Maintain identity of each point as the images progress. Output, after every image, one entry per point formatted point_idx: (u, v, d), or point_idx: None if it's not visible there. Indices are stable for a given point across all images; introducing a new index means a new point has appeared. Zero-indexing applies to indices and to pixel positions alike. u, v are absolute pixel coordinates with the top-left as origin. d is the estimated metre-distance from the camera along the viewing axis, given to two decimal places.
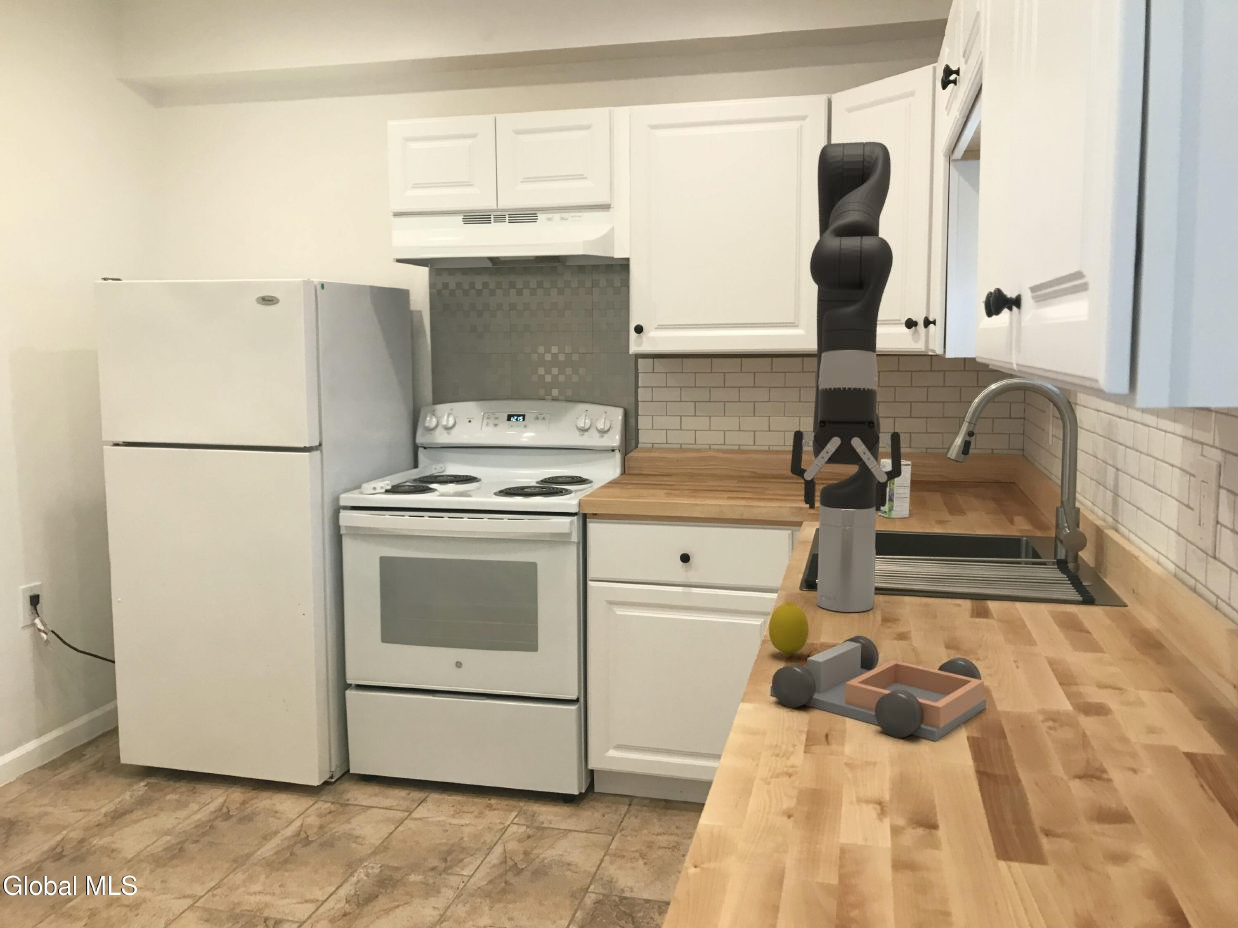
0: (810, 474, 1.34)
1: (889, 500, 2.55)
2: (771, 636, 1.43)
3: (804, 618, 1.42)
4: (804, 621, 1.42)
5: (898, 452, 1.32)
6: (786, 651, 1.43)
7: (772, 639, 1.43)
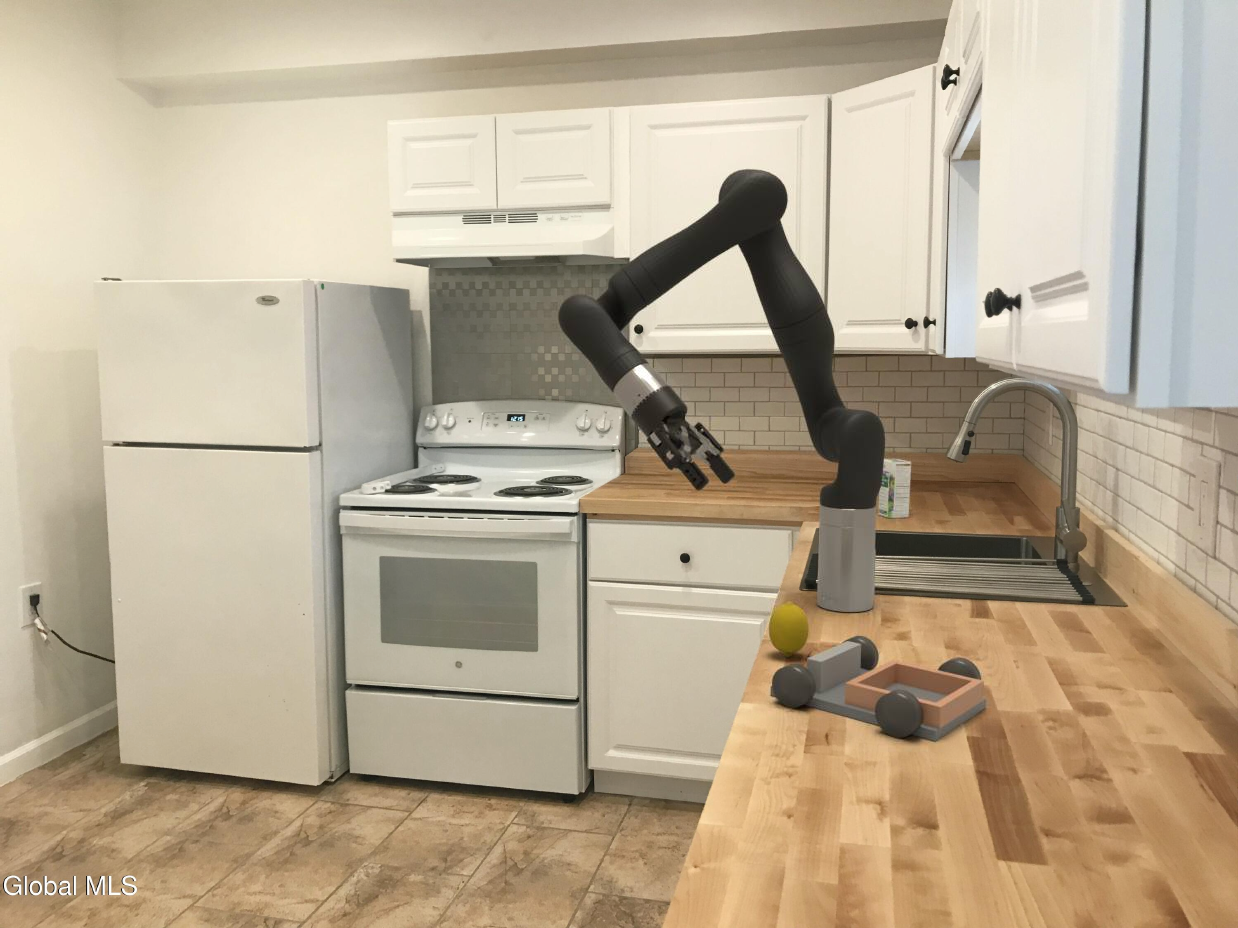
0: None
1: (889, 499, 2.55)
2: (771, 636, 1.43)
3: (804, 618, 1.42)
4: (804, 621, 1.42)
5: None
6: (786, 651, 1.43)
7: (772, 639, 1.43)
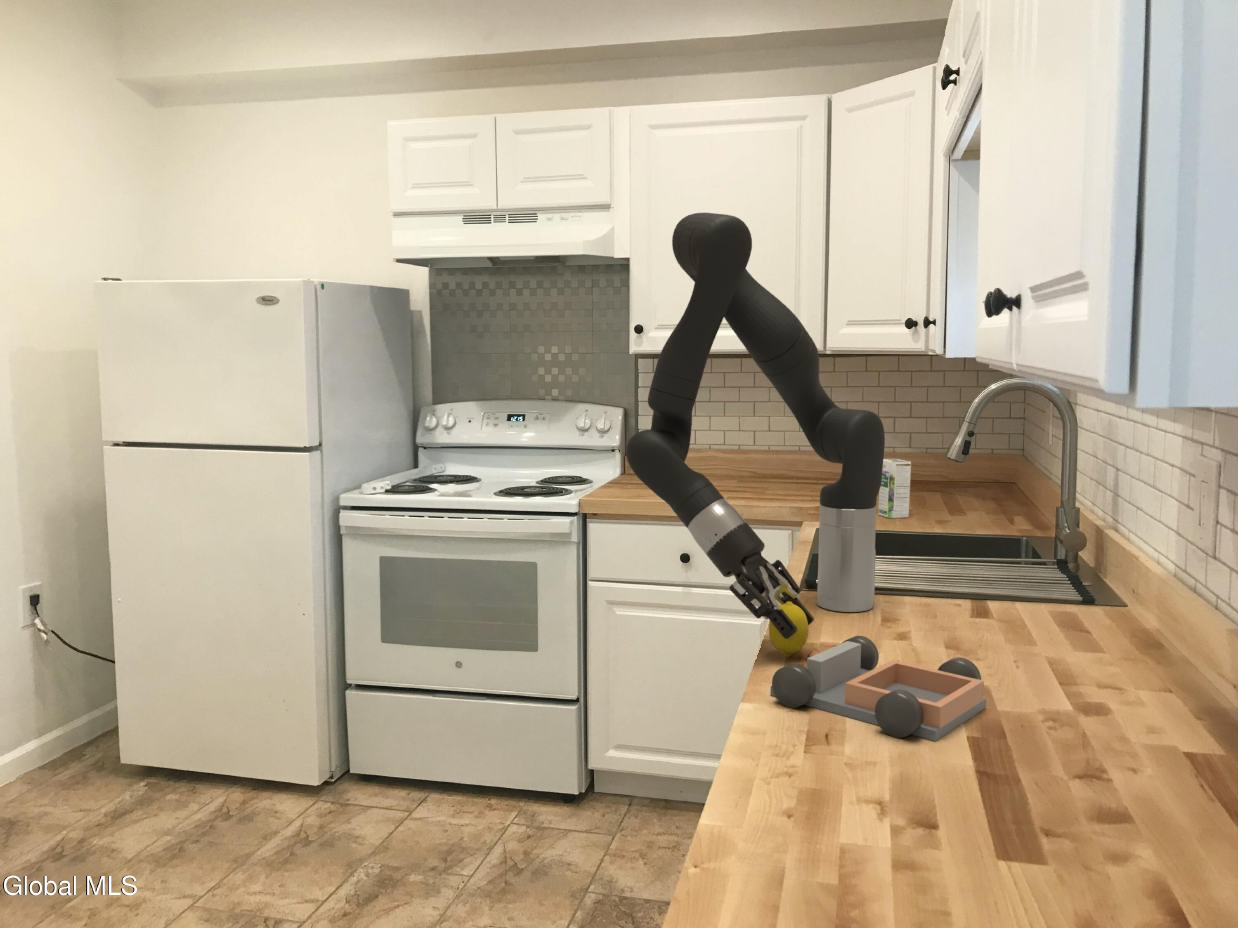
0: None
1: (889, 500, 2.55)
2: (771, 636, 1.43)
3: (804, 618, 1.42)
4: (804, 621, 1.42)
5: None
6: (786, 651, 1.43)
7: (772, 639, 1.43)
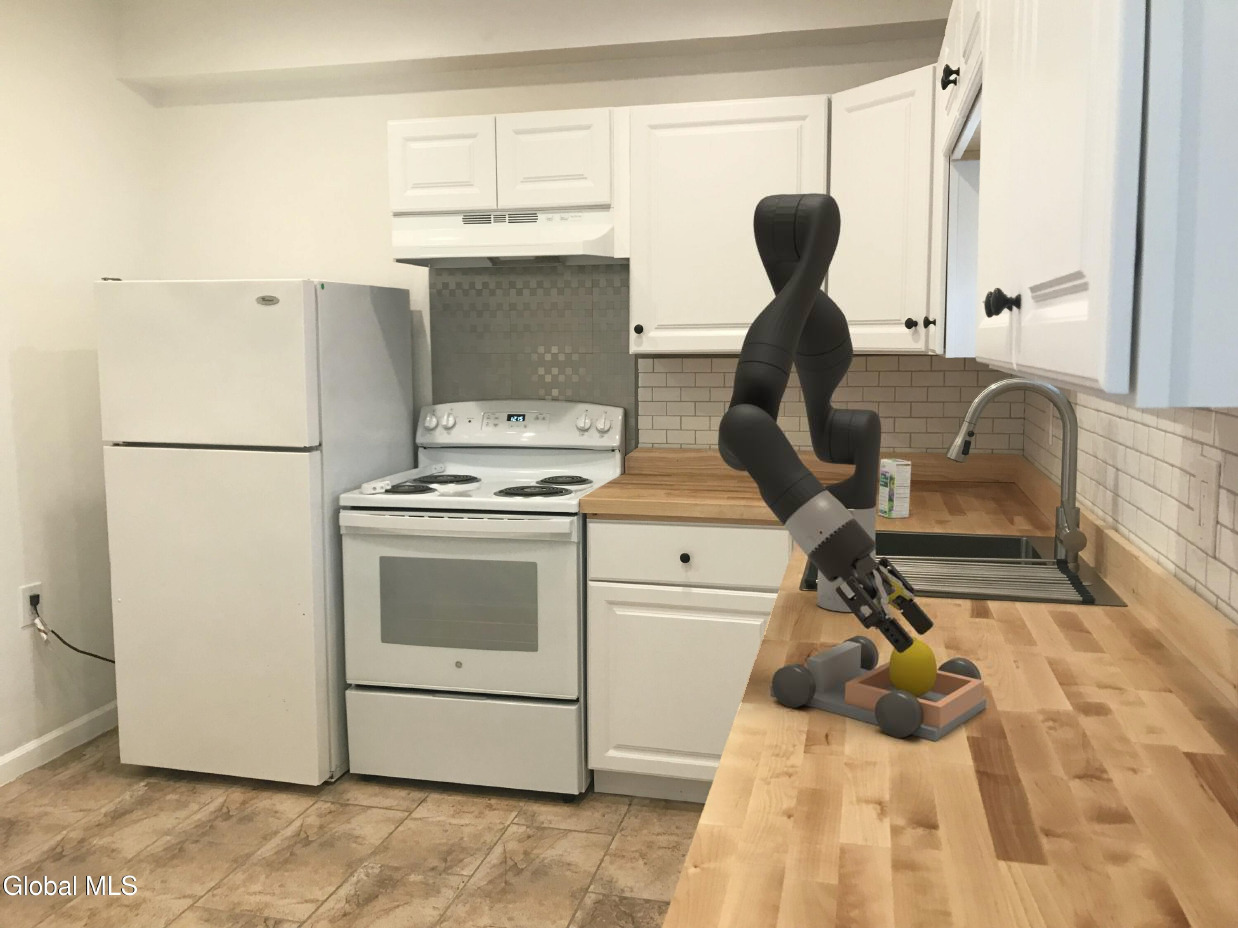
0: None
1: (889, 499, 2.55)
2: (893, 678, 1.22)
3: (932, 656, 1.21)
4: (932, 660, 1.21)
5: None
6: None
7: (895, 681, 1.22)
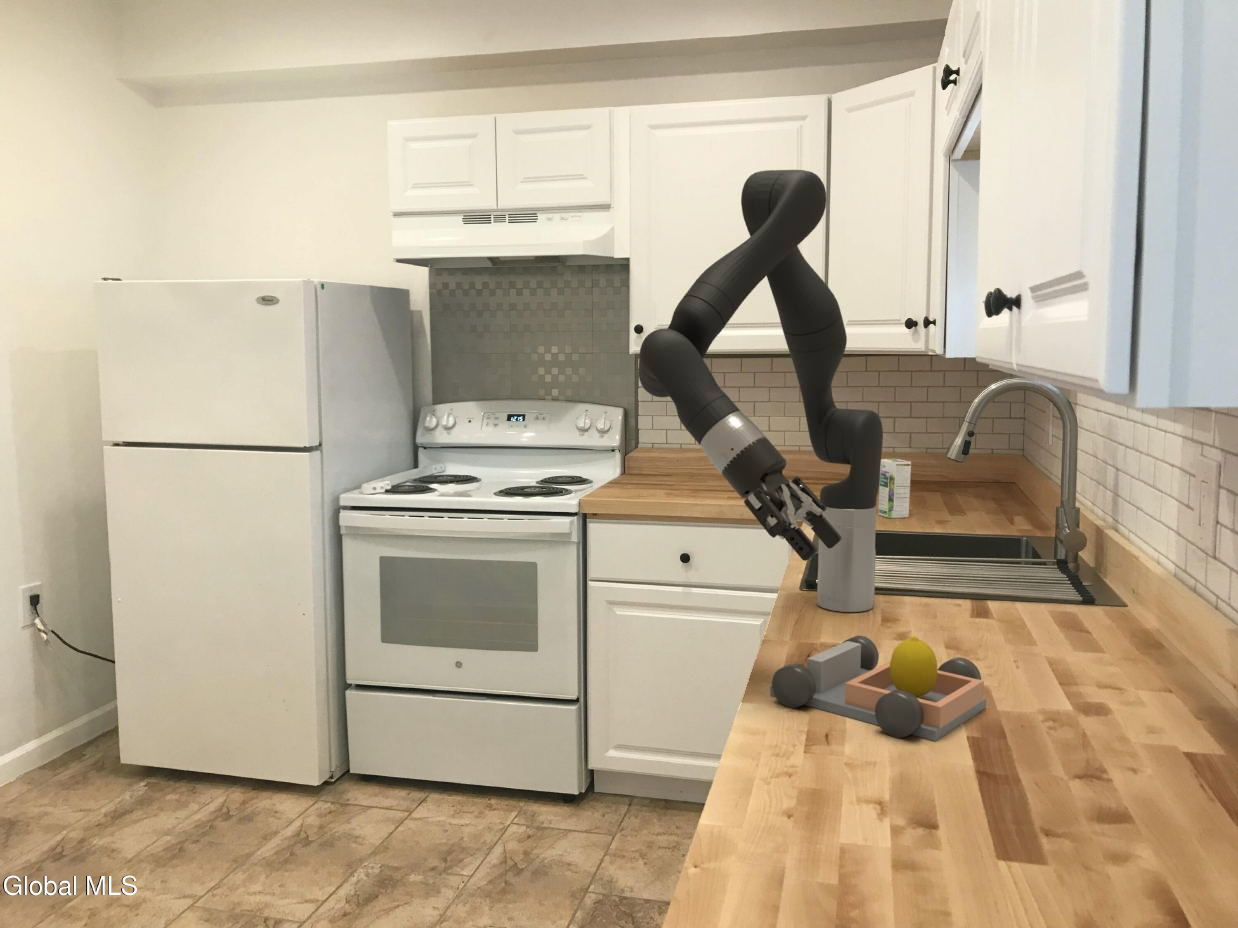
0: None
1: (889, 500, 2.55)
2: (894, 678, 1.22)
3: (933, 656, 1.21)
4: (934, 660, 1.21)
5: None
6: None
7: (896, 681, 1.22)
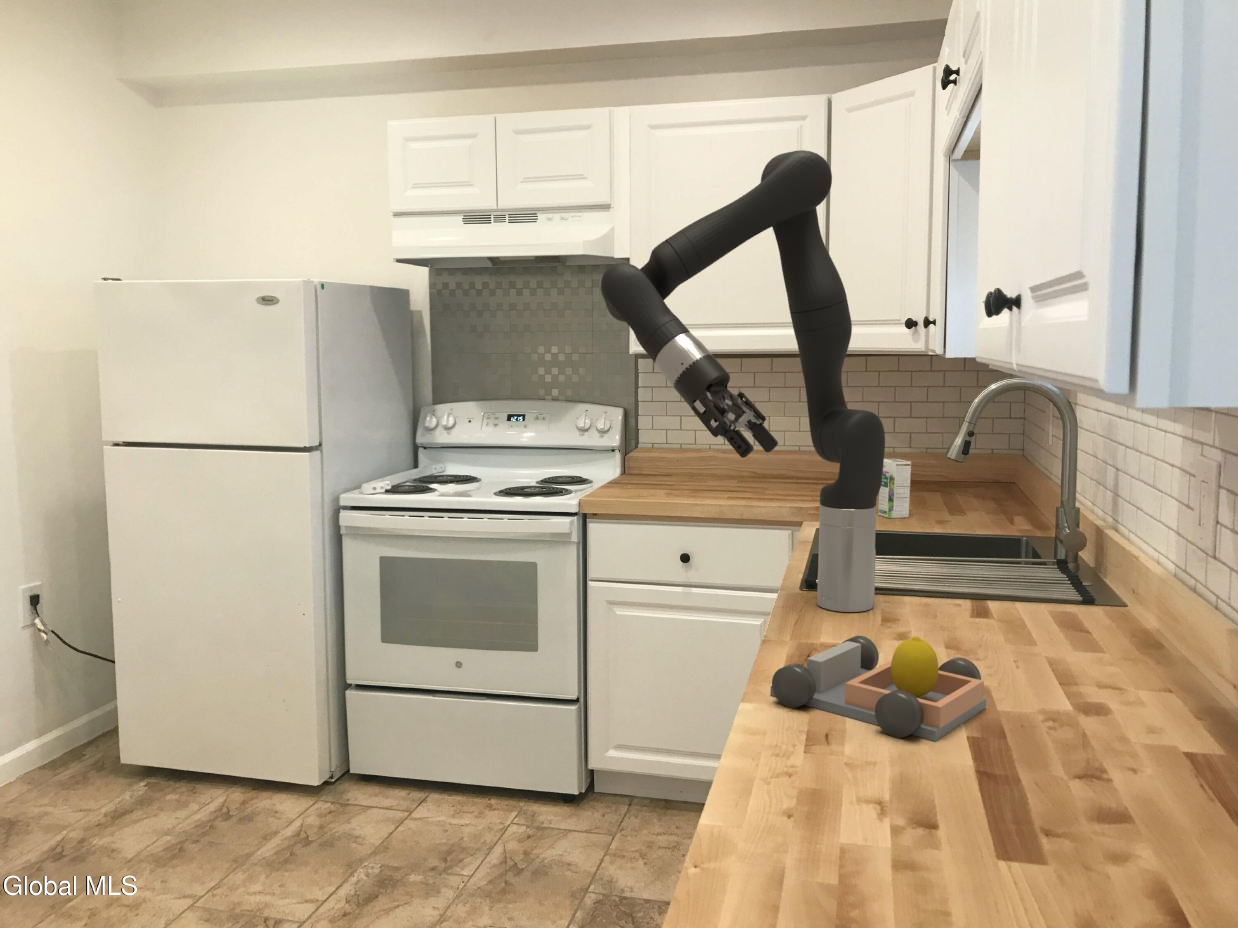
0: None
1: (889, 499, 2.55)
2: (896, 677, 1.22)
3: (935, 656, 1.21)
4: (935, 660, 1.21)
5: None
6: None
7: (897, 680, 1.22)
